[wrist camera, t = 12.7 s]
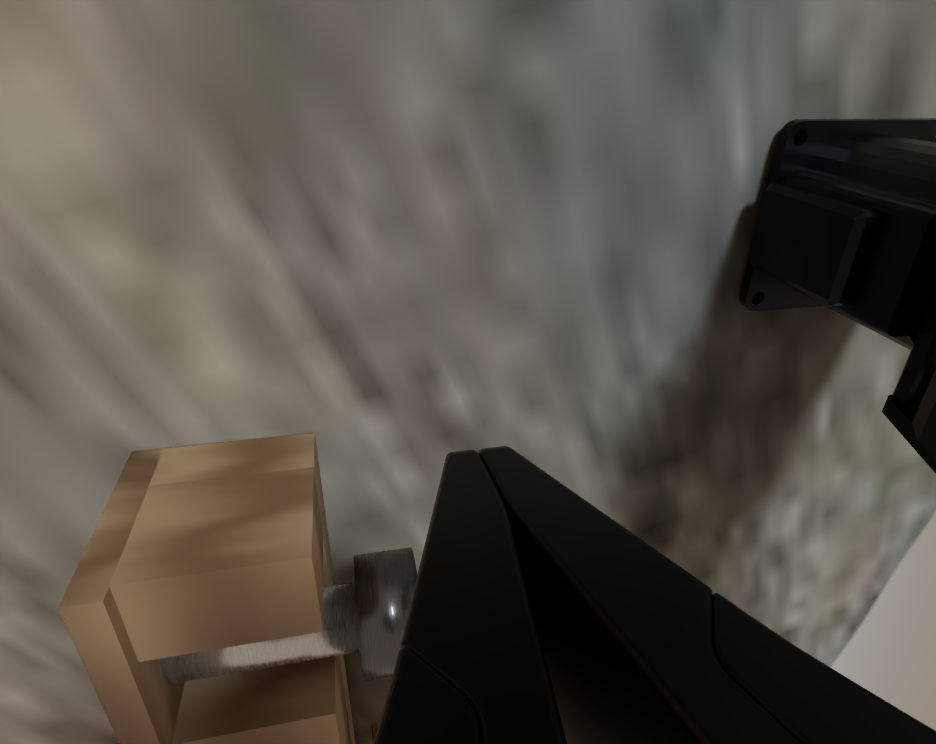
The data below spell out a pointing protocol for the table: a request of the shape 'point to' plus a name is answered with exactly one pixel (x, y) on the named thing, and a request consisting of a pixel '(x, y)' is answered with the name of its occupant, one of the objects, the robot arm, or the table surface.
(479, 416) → the table surface
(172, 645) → the mount
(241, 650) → the charcoal knob
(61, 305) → the table surface
